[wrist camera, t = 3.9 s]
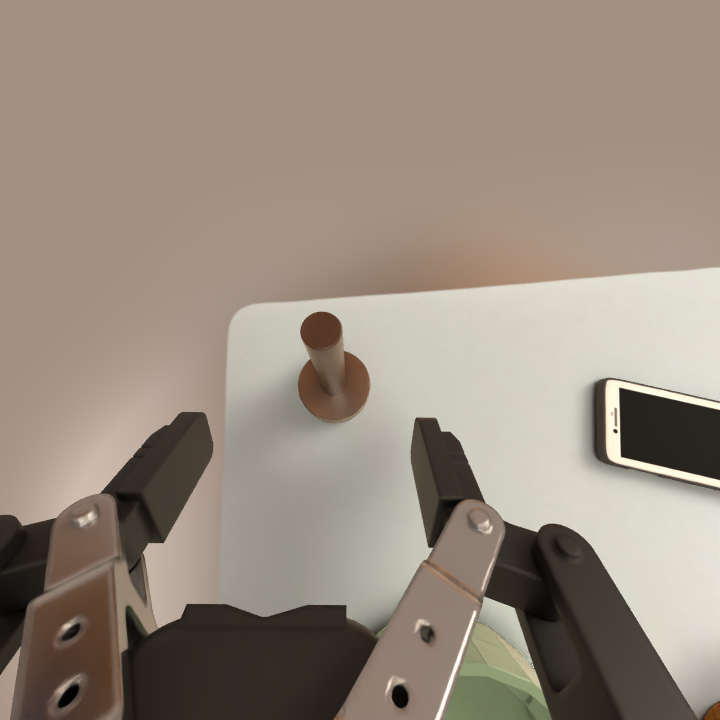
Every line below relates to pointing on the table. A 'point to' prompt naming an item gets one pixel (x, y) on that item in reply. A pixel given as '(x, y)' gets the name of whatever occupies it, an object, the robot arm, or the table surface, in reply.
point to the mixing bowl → (495, 682)
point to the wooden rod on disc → (331, 372)
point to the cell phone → (659, 432)
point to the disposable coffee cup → (713, 713)
